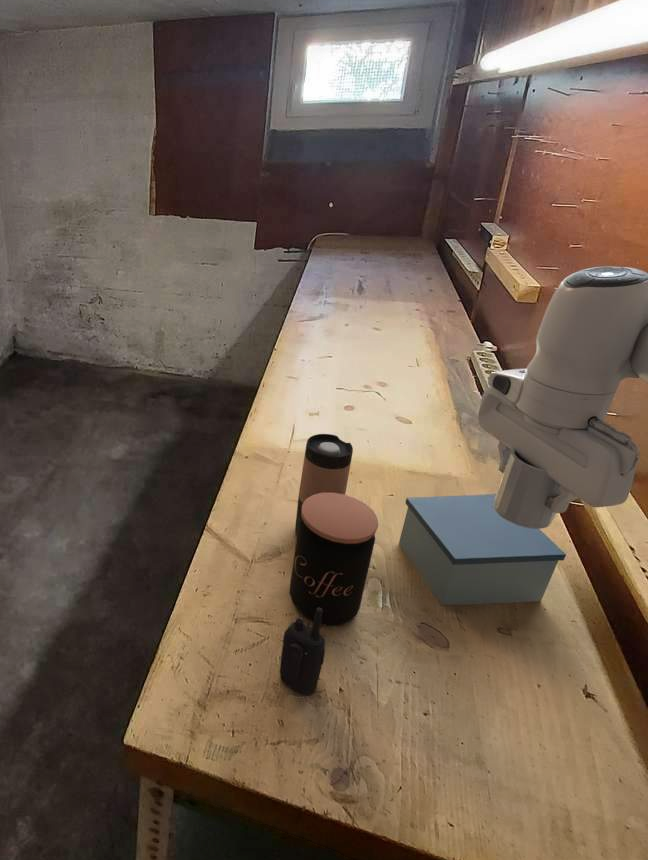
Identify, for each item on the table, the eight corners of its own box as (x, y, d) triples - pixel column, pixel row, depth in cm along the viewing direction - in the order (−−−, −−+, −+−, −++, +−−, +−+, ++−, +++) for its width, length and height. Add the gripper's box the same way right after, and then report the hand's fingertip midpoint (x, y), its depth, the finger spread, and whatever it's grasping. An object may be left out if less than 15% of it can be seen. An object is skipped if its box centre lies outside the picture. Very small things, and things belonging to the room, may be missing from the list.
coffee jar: (275, 603, 91) (287, 515, 83) (308, 567, 97) (321, 483, 89) (339, 642, 84) (359, 550, 76) (369, 601, 90) (390, 513, 82)
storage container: (487, 538, 102) (502, 493, 98) (545, 603, 89) (566, 554, 84) (395, 542, 102) (406, 497, 98) (439, 607, 89) (455, 559, 84)
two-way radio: (321, 686, 78) (337, 608, 71) (307, 709, 75) (322, 631, 68) (284, 663, 81) (295, 587, 74) (269, 684, 78) (280, 607, 71)
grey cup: (538, 500, 79) (559, 446, 75) (561, 531, 73) (584, 475, 69) (486, 495, 80) (503, 442, 76) (503, 525, 75) (523, 469, 71)
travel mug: (294, 546, 102) (307, 454, 93) (292, 519, 109) (304, 431, 100) (339, 552, 100) (357, 459, 91) (334, 524, 107) (350, 435, 98)
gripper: (671, 441, 60) (623, 540, 66) (522, 364, 78) (496, 447, 84) (617, 447, 59) (574, 546, 66) (480, 368, 78) (457, 452, 84)
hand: (529, 490), depth 75 cm, fingers closed on grey cup, 6 cm apart
